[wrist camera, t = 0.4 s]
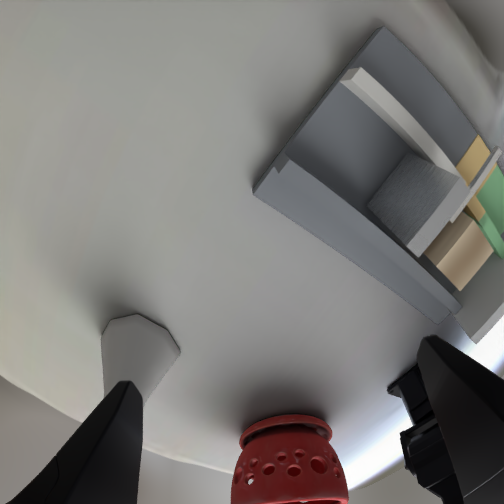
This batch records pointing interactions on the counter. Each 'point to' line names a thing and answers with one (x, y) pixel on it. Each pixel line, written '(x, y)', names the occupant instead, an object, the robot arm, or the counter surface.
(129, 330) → the flask
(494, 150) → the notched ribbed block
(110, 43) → the counter surface
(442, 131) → the bench
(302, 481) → the plant pot
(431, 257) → the block
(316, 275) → the counter surface
